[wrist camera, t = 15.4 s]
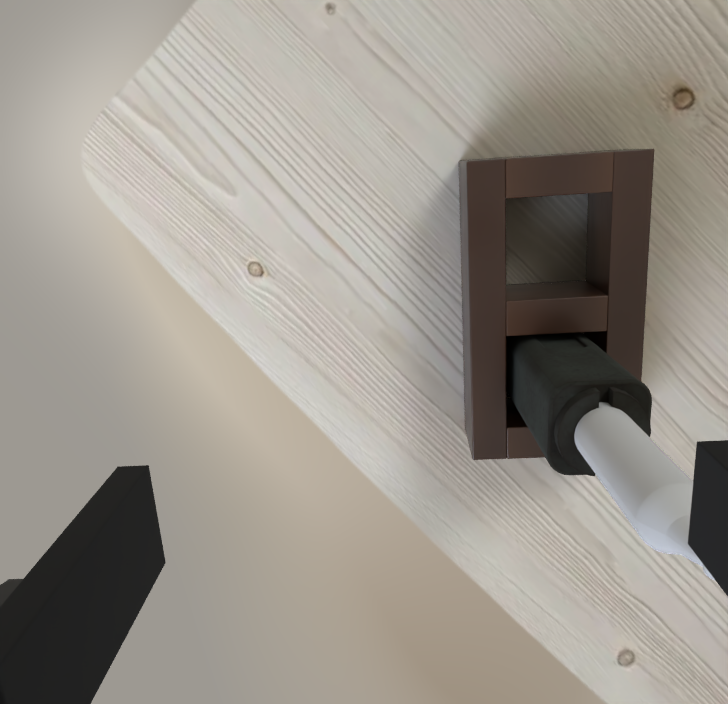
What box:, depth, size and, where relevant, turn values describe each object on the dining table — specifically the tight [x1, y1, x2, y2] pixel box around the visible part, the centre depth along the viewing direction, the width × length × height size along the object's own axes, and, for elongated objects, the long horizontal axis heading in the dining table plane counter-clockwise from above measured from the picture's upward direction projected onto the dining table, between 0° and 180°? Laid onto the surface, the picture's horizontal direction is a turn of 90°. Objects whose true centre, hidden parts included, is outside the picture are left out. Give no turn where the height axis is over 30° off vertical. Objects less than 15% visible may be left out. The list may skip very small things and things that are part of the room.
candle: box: [506, 332, 715, 580], centre depth 34 cm, size 5×5×25 cm
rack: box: [459, 149, 654, 460], centre depth 42 cm, size 10×19×5 cm, turn 4°
